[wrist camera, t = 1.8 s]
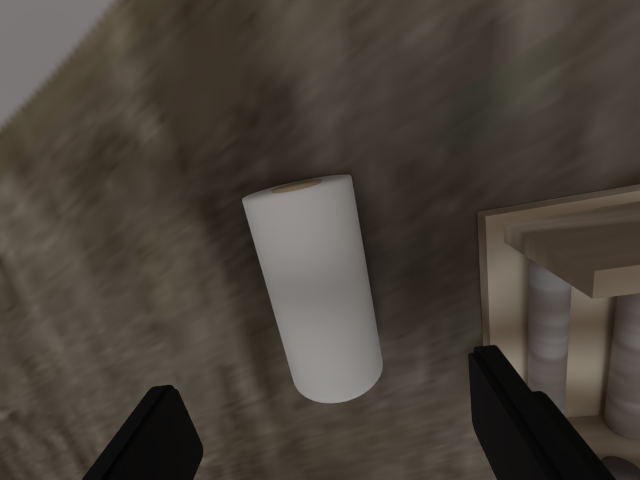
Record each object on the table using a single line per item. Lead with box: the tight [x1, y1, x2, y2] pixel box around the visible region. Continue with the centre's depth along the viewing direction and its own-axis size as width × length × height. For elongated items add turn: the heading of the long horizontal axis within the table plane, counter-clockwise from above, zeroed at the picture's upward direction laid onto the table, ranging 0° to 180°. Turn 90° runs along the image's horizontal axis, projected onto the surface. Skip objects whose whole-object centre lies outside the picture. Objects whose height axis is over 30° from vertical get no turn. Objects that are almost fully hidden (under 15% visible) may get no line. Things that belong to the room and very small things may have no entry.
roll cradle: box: [477, 184, 640, 480], centre depth 17 cm, size 18×11×8 cm, turn 12°
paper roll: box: [242, 175, 383, 403], centre depth 18 cm, size 12×6×6 cm, turn 12°
